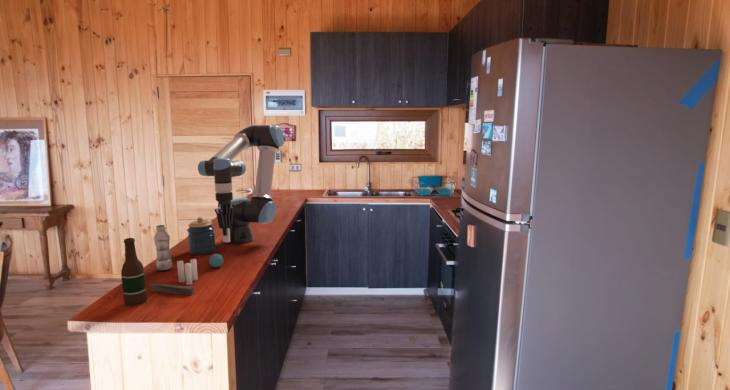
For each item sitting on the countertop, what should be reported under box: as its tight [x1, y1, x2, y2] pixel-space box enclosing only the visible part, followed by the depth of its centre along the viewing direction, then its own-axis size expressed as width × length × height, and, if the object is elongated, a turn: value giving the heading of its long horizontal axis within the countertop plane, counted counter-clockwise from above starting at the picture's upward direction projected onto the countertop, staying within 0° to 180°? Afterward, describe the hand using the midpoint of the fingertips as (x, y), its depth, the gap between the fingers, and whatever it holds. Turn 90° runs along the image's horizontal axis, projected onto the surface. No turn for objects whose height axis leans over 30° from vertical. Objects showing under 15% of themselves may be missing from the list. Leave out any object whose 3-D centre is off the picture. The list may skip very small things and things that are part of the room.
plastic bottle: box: [153, 224, 173, 271], centre depth 196 cm, size 6×7×20 cm
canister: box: [186, 216, 217, 256], centre depth 223 cm, size 13×13×18 cm
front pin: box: [189, 258, 199, 282], centre depth 184 cm, size 2×2×8 cm
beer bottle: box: [120, 237, 147, 307], centre depth 160 cm, size 8×8×24 cm
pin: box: [183, 262, 193, 286], centre depth 179 cm, size 2×2×8 cm
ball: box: [208, 253, 224, 268], centre depth 199 cm, size 6×6×6 cm
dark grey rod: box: [150, 282, 195, 296], centre depth 171 cm, size 2×18×2 cm, turn 75°
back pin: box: [176, 260, 186, 283], centre depth 182 cm, size 2×2×8 cm
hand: (226, 241), depth 207 cm, fingers closed
